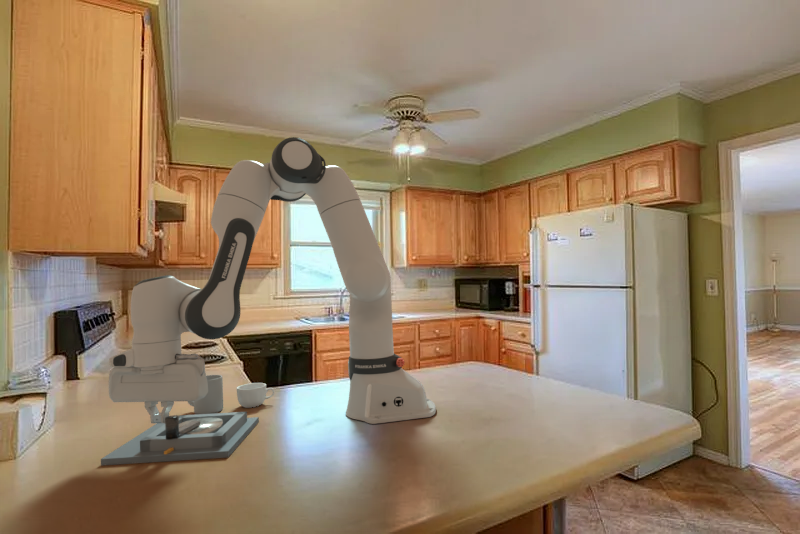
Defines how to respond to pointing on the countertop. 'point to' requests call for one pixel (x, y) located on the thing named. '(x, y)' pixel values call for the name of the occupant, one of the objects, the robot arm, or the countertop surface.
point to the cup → (210, 397)
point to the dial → (190, 426)
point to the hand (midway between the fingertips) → (160, 422)
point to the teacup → (252, 394)
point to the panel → (175, 455)
